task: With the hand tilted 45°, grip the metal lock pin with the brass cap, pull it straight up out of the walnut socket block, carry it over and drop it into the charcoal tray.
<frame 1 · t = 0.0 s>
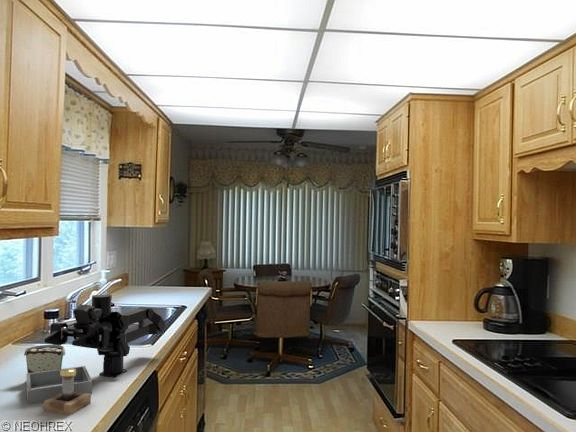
hand: (58, 342, 132), 17 cm above the countertop, tool horizontal, fingers open, 9 cm apart
food container: (48, 378, 151), on the countertop
socket block: (67, 412, 124), on the countertop
tray: (58, 394, 137), on the countertop
lock pin: (67, 407, 124), point 1 cm above the countertop, touching socket block
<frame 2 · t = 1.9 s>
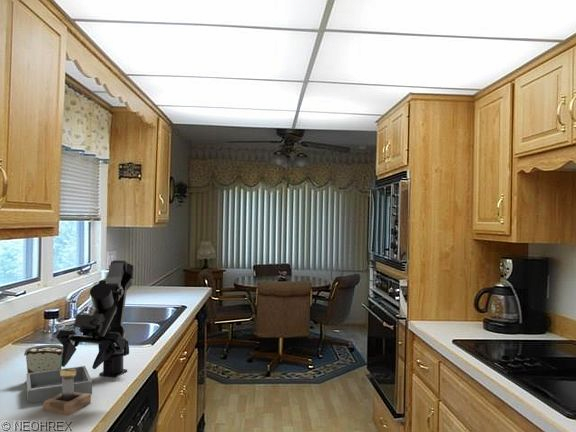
hand: (77, 367, 128), 11 cm above the countertop, tool tilted 45°, fingers open, 9 cm apart
nothing on the countertop moved.
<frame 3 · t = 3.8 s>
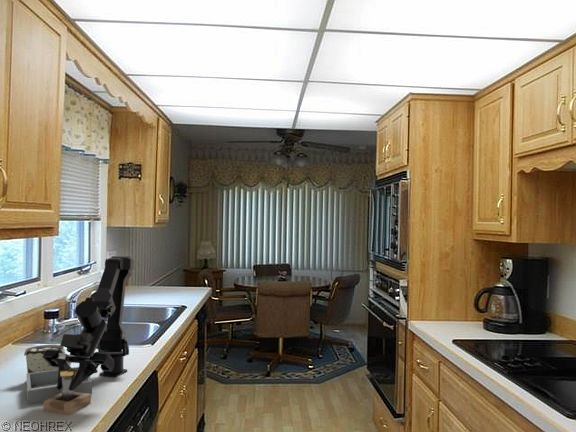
hand: (64, 389, 123), 7 cm above the countertop, tool tilted 45°, fingers closed on lock pin, 3 cm apart
lock pin: (67, 407, 124), point 2 cm above the countertop, touching gripper, socket block
everything else where it was.
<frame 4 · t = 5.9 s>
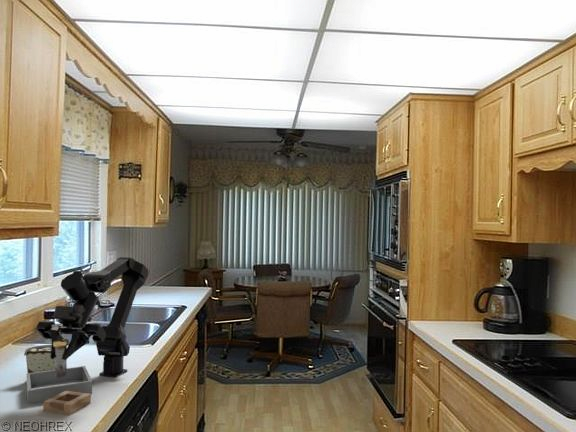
hand: (57, 358, 128), 13 cm above the countertop, tool tilted 45°, fingers closed on lock pin, 3 cm apart
lock pin: (60, 375, 129), point 8 cm above the countertop, touching gripper
everything else where it was.
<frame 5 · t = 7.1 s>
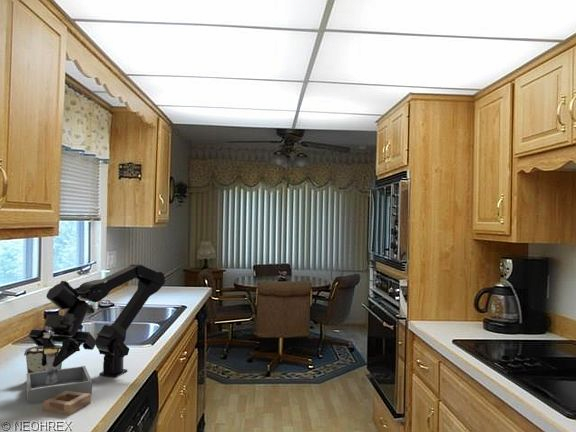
hand: (48, 365, 132), 10 cm above the countertop, tool tilted 45°, fingers closed on lock pin, 3 cm apart
lock pin: (51, 382, 134), point 5 cm above the countertop, touching gripper
everything else where it was.
when the fingers open (7 cm above the countertop, at t = 7.8 s): lock pin drops 1 cm, resting on tray.
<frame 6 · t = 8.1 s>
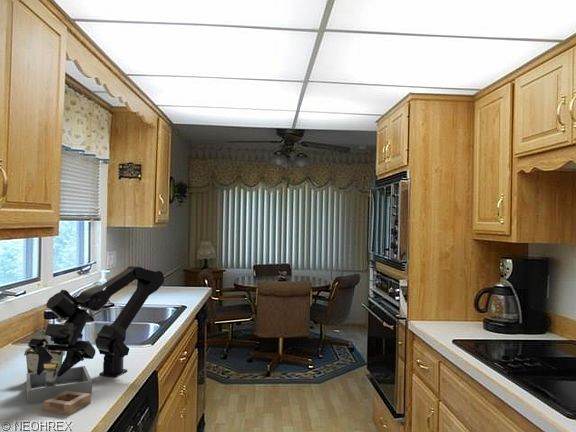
hand: (48, 375, 132), 7 cm above the countertop, tool tilted 45°, fingers open, 6 cm apart
lock pin: (50, 396, 134), point 1 cm above the countertop, touching tray
everything else where it was.
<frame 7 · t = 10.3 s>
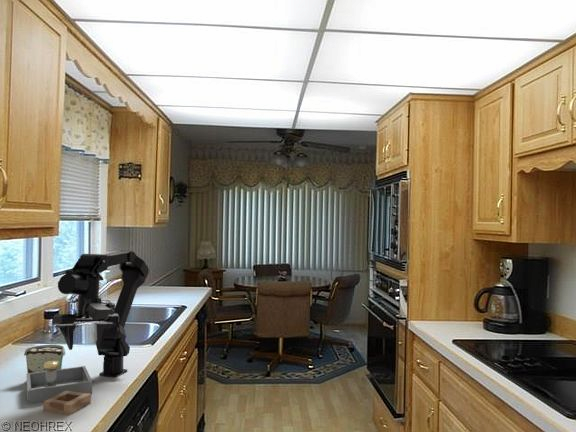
hand: (85, 348, 140), 13 cm above the countertop, tool pointing down, fingers open, 9 cm apart
nothing on the countertop moved.
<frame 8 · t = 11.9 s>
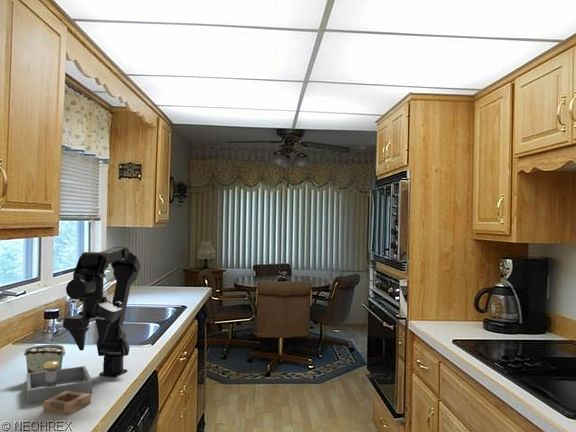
hand: (92, 346, 141), 13 cm above the countertop, tool pointing down, fingers open, 9 cm apart
nothing on the countertop moved.
at the end: lock pin 3.5 cm from the tray (horizontally); lock pin point 0.6 cm above the countertop; the gripper is holding nothing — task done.
